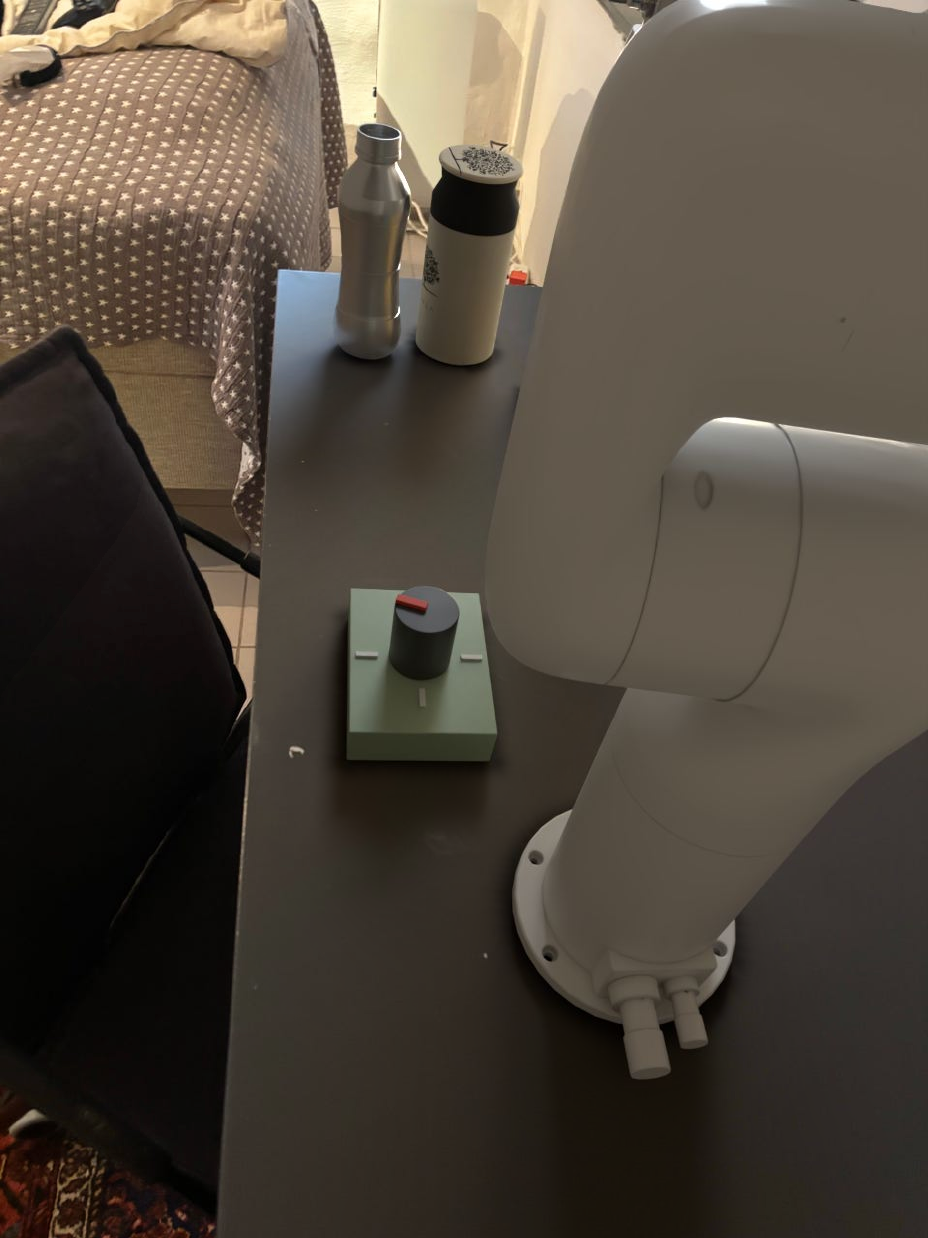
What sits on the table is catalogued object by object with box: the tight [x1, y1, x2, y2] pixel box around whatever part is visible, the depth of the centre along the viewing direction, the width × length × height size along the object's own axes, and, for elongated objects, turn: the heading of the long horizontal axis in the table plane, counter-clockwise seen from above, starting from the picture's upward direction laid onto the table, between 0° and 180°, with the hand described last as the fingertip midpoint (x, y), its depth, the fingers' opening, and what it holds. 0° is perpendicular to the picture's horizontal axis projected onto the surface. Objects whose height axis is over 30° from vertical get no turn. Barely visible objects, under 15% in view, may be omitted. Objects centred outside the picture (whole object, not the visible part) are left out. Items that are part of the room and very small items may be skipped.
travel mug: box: [415, 144, 524, 366], centre depth 83 cm, size 8×8×18 cm
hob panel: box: [346, 588, 498, 762], centre depth 58 cm, size 12×9×3 cm
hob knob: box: [389, 585, 460, 680], centre depth 55 cm, size 4×4×5 cm
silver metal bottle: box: [332, 122, 413, 360], centre depth 79 cm, size 6×7×20 cm
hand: (626, 281), depth 71 cm, fingers closed
